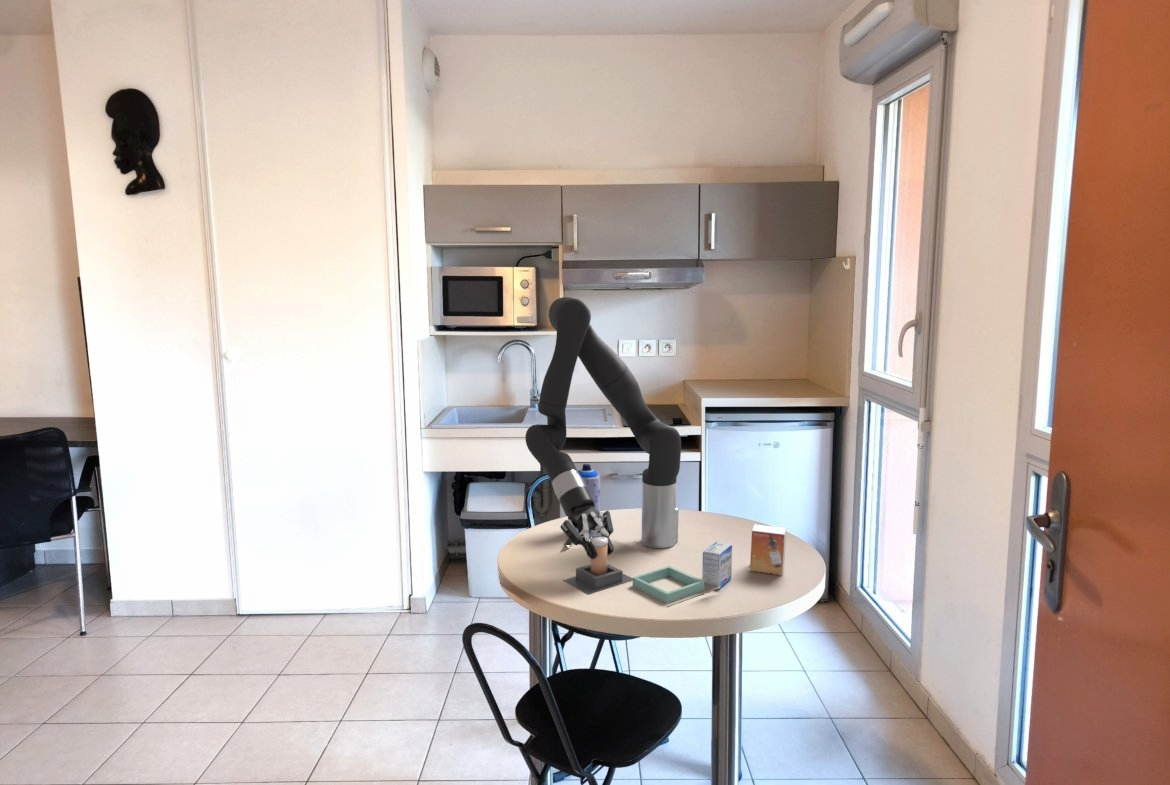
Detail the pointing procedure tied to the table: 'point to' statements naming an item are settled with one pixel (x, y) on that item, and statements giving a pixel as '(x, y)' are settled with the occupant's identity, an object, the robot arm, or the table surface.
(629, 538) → the table surface
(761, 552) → the small box
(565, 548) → the claw hammer
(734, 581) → the table surface
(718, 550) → the medicine box
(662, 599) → the parts tray
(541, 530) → the table surface
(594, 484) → the aerosol can
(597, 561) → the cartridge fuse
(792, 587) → the table surface
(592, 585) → the grey square socket stand
